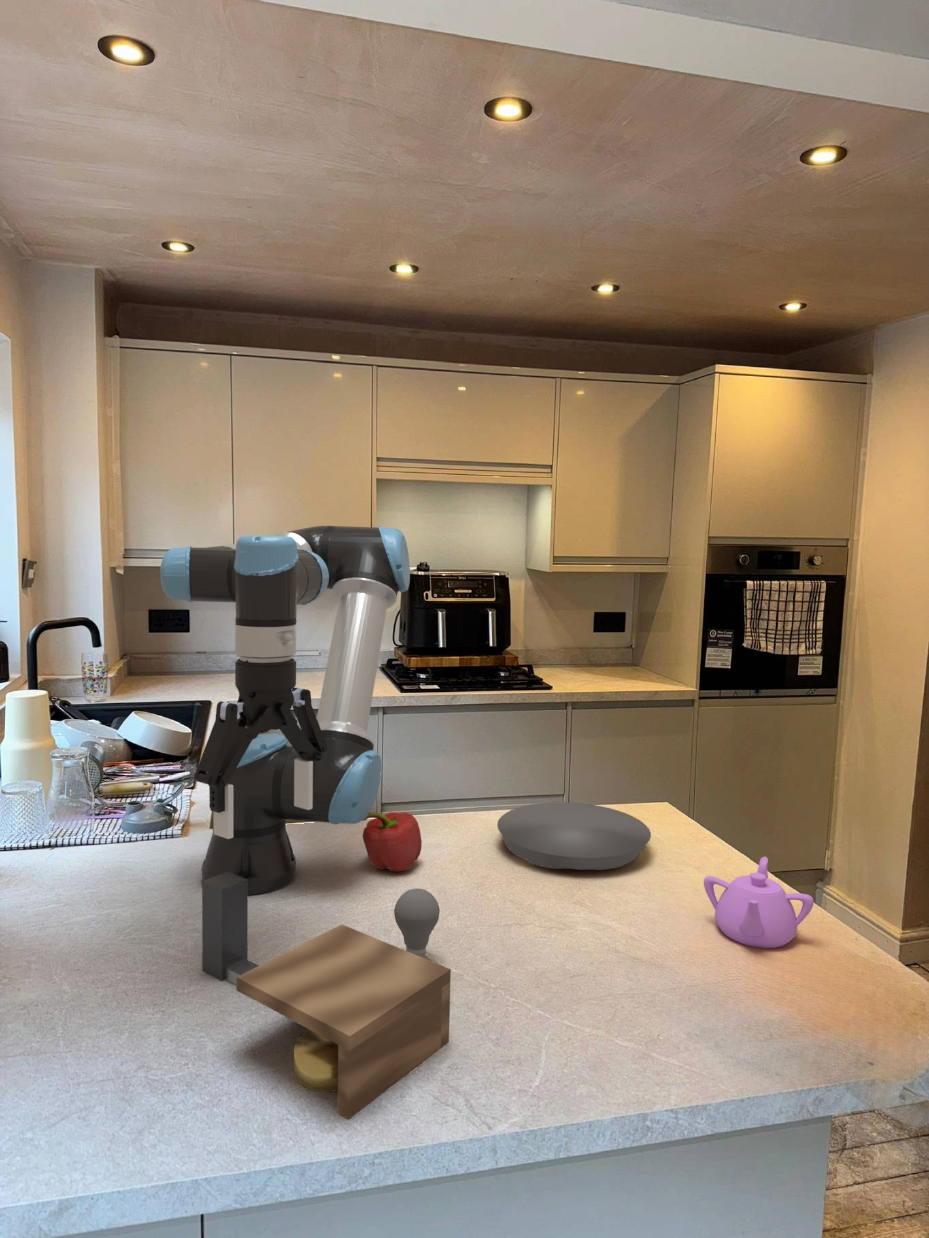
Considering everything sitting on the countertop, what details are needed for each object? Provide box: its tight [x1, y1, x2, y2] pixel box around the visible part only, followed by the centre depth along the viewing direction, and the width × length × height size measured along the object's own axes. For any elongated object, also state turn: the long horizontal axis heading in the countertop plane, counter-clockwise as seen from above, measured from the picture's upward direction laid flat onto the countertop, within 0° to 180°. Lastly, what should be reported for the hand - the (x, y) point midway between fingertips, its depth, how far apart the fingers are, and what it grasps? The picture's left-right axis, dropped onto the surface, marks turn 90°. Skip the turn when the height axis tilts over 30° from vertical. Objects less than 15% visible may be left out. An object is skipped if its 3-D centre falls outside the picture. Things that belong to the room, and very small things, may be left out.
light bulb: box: [393, 888, 440, 959], centre depth 109 cm, size 6×6×10 cm
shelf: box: [235, 924, 452, 1120], centre depth 91 cm, size 17×16×8 cm
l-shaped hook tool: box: [201, 872, 260, 986], centre depth 101 cm, size 22×4×12 cm, turn 54°
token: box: [293, 1029, 338, 1093], centre depth 87 cm, size 7×7×3 cm
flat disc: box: [496, 801, 652, 871], centre depth 152 cm, size 28×28×4 cm
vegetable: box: [361, 811, 423, 873], centre depth 141 cm, size 11×10×10 cm
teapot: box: [703, 856, 815, 949], centre depth 121 cm, size 12×14×9 cm
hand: (265, 821), depth 106 cm, fingers open, 13 cm apart
